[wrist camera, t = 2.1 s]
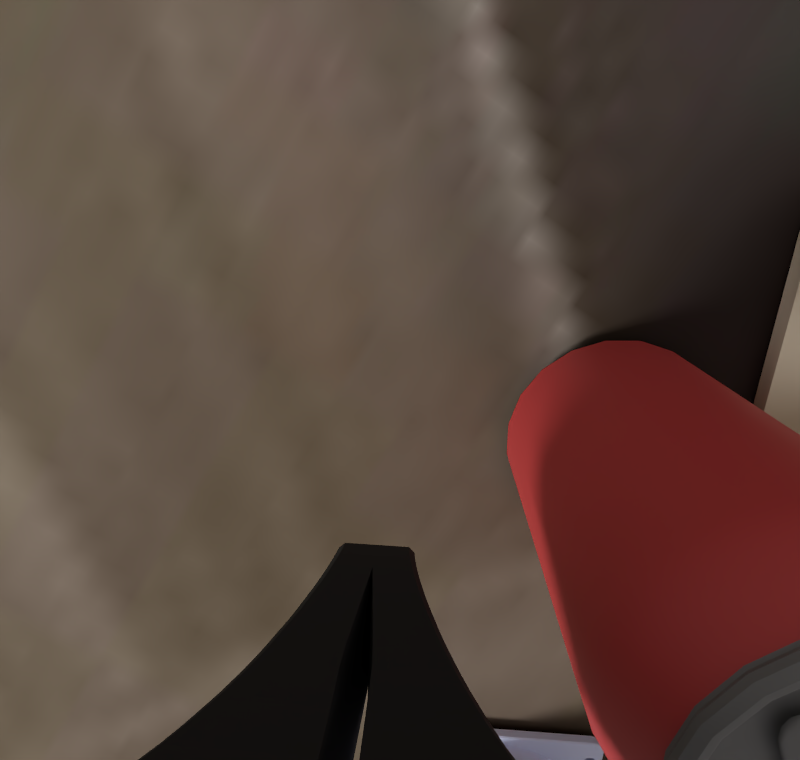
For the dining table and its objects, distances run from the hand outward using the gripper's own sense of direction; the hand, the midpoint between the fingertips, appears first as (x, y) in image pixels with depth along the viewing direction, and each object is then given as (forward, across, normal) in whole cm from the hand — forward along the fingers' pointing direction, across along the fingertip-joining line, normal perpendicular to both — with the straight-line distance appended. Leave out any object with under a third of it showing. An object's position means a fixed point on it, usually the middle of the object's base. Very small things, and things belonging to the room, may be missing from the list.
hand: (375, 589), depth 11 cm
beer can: (+9, -7, 0) cm, 11 cm away
